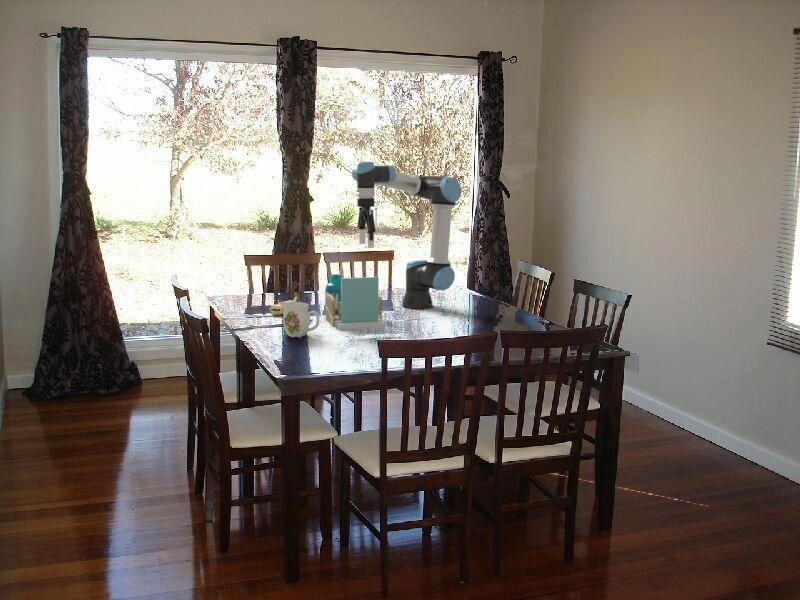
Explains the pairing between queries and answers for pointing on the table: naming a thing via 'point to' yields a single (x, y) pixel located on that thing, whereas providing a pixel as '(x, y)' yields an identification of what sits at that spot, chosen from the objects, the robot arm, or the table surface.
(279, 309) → the cat figure
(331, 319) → the rack
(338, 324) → the stand
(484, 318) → the table surface
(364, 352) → the table surface
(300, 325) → the white floral mug
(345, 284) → the teal rectangular panel
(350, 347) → the table surface
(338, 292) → the vase
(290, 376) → the table surface
